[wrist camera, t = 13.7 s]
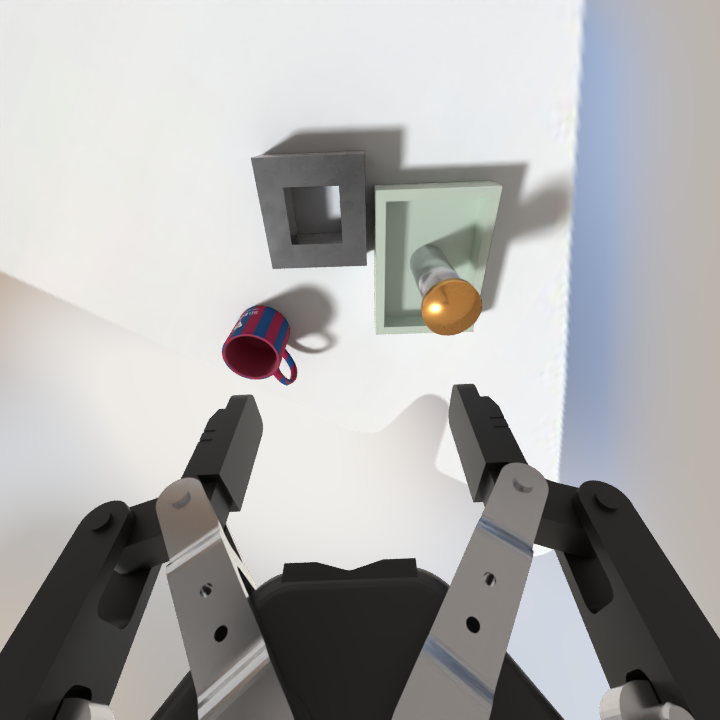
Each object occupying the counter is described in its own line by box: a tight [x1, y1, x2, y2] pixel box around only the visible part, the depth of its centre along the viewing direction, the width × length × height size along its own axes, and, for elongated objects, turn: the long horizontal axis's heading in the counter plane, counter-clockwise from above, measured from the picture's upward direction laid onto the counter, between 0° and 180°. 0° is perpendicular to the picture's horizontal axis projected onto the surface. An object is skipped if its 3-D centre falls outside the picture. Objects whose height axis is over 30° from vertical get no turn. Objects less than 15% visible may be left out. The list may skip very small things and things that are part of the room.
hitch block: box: [251, 151, 367, 269], centre depth 33 cm, size 10×10×4 cm
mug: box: [222, 306, 297, 385], centre depth 41 cm, size 7×10×7 cm
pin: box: [410, 245, 482, 335], centre depth 32 cm, size 5×5×12 cm
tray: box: [374, 181, 503, 335], centre depth 36 cm, size 16×12×3 cm
